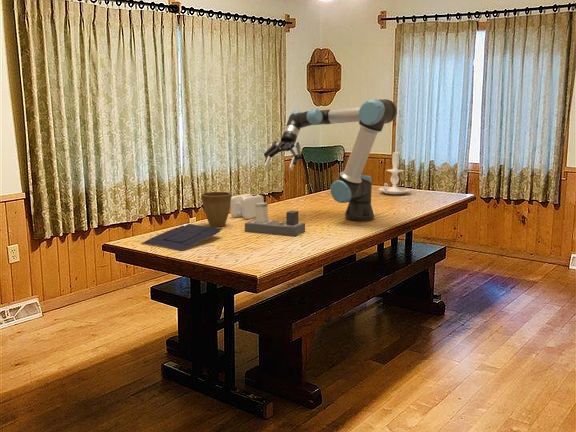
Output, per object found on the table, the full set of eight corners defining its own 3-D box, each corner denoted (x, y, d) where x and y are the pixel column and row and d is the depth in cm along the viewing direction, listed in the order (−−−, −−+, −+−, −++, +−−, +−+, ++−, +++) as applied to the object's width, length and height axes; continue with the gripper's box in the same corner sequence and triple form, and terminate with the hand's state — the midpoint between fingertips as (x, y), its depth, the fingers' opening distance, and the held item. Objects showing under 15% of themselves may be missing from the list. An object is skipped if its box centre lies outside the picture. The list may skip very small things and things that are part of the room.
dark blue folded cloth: (227, 235, 279) (226, 227, 278) (183, 257, 255) (182, 248, 254) (186, 228, 292) (186, 221, 291) (141, 249, 268) (140, 241, 267)
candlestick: (369, 195, 397) (370, 152, 392) (387, 190, 417) (388, 149, 411) (398, 198, 385) (400, 153, 380) (415, 193, 405) (417, 150, 399)
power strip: (305, 231, 292) (305, 210, 290) (295, 236, 281) (295, 214, 279) (255, 226, 302) (255, 206, 300) (244, 231, 291) (244, 210, 289)
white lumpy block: (243, 220, 317) (243, 198, 315) (229, 217, 324) (229, 196, 322) (264, 216, 328) (263, 195, 325) (250, 213, 335) (250, 192, 332)
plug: (267, 227, 296) (267, 202, 293) (263, 229, 291) (263, 204, 289) (260, 226, 297) (260, 202, 295) (255, 228, 293) (255, 203, 290)
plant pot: (235, 223, 310) (235, 191, 307) (226, 229, 296) (225, 196, 293) (208, 221, 314) (207, 190, 310) (197, 227, 299) (196, 195, 296)
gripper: (314, 141, 315) (303, 174, 305) (270, 140, 325) (258, 171, 314) (310, 131, 310) (299, 164, 299) (265, 130, 319) (253, 162, 309)
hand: (278, 168), depth 307 cm, fingers open, 13 cm apart
